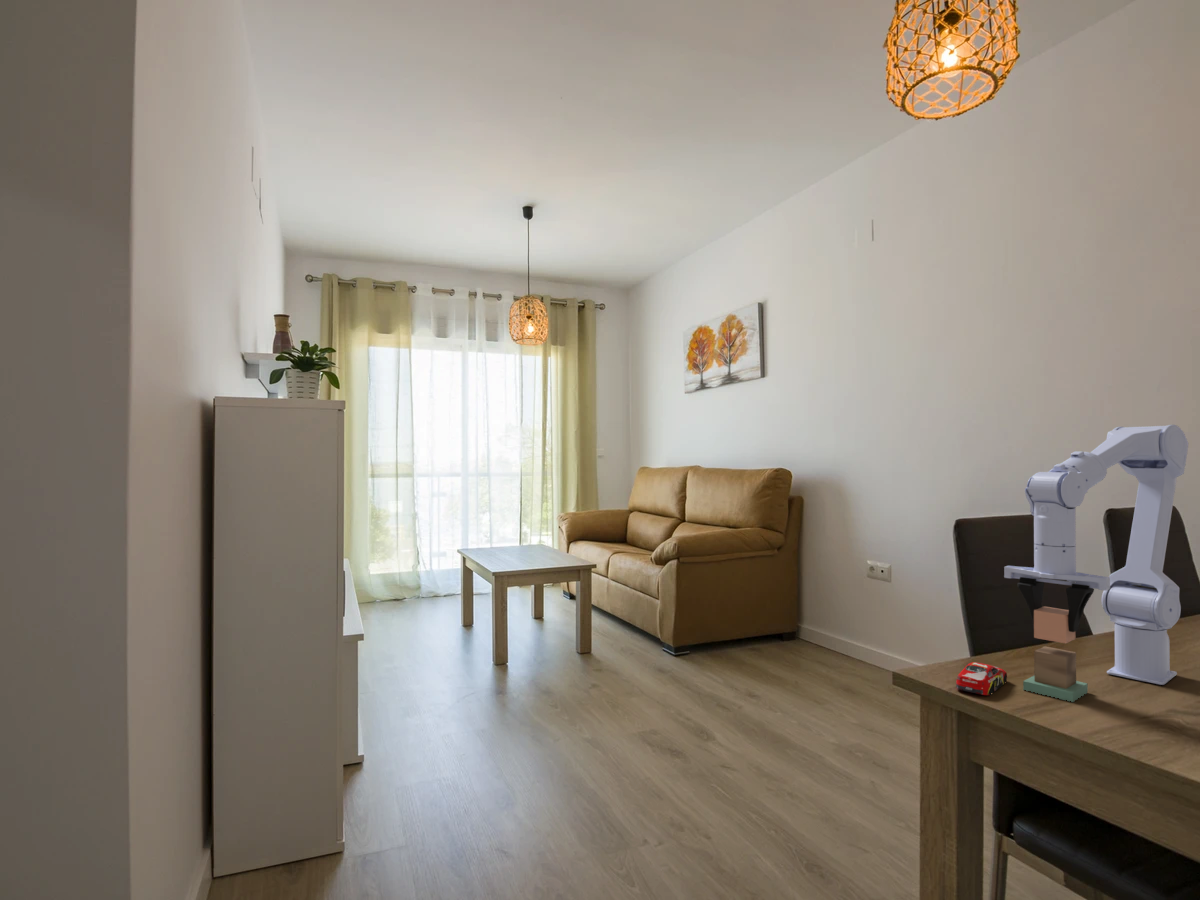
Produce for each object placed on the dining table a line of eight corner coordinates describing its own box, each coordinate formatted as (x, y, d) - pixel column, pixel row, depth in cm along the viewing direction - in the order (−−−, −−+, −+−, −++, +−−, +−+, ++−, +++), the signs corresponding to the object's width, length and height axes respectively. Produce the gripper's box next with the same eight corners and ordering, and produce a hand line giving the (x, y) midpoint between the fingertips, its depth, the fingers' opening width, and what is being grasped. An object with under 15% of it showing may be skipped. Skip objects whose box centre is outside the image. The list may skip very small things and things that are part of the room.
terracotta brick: (1044, 633, 114) (1043, 606, 115) (1075, 638, 111) (1075, 611, 111) (1034, 637, 112) (1033, 610, 112) (1065, 643, 108) (1065, 615, 108)
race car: (976, 675, 121) (976, 652, 121) (1011, 682, 117) (1011, 659, 117) (949, 692, 112) (949, 667, 112) (986, 701, 108) (986, 675, 108)
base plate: (1039, 681, 116) (1039, 672, 116) (1087, 692, 111) (1087, 683, 111) (1023, 690, 112) (1023, 681, 112) (1073, 702, 106) (1072, 692, 106)
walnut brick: (1045, 676, 115) (1044, 646, 115) (1076, 683, 111) (1076, 652, 111) (1034, 681, 112) (1034, 650, 112) (1066, 688, 108) (1065, 657, 108)
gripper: (996, 542, 115) (997, 622, 115) (1099, 551, 103) (1100, 641, 103) (1013, 539, 119) (1013, 616, 119) (1113, 547, 108) (1114, 633, 108)
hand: (1055, 627), depth 111 cm, fingers closed on terracotta brick, 4 cm apart
